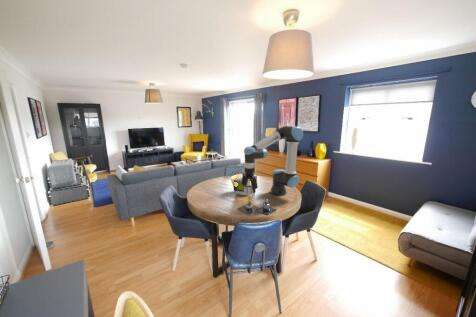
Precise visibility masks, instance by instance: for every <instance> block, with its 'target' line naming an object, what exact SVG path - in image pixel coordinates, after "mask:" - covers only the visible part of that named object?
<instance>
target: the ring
mask: <svg viewBox="0 0 476 317" xmlns="http://www.w3.org/2000/svg"><path fill="white" fill-rule="evenodd" d="M252 189H253V188H252V185H245V186H244V193H245V194H249V195H252Z"/></svg>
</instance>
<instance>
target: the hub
mask: <svg viewBox="0 0 476 317" xmlns="http://www.w3.org/2000/svg"><path fill="white" fill-rule="evenodd" d="M256 209H257V210H256ZM258 209H260V207H259V206H257V205H254V204H253V203H252V196H249V197H248V196H247V203H246V204H243V205H242V206H239V207H238V208H237V210H239V211H241V212H243V213H245V214H247V215H250V216H251V215H252V214H254V212H255V213H257V212H259V211H258Z"/></svg>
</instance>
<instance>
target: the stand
mask: <svg viewBox="0 0 476 317" xmlns="http://www.w3.org/2000/svg"><path fill="white" fill-rule="evenodd" d="M256 210H257V209H256ZM276 210H277V211H278V209H277V208H273V207H271V203H270V202H269V198H264V202H262V206H261V207H260V209H258V211H257V212H259V213H261V214H263V215H265V216H270V215H271V214H273V213H275V212H277V211H276Z"/></svg>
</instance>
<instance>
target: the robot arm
mask: <svg viewBox="0 0 476 317" xmlns="http://www.w3.org/2000/svg"><path fill="white" fill-rule="evenodd" d="M303 137H304V131H303V129H302V128H301V127H299V126H296V125H295V126H291V125H289V126H288V125H286V126H281V127H280V128H277V129H276V130H274V131H273V132H272V133H271V134H269V135H268V136H266V137H264V138H263V139H261V140H259V141H257V142H256V143H254V144H253V145H250V146H245V148H244V150H243V153H244V172H242V174H241V175H242V185H243V189H244V186H245V185H246V184H247V182H248V179H249V180H250V181H251V185H252V188H253V189H252V194H251V198H255V197H256V190H257V189H258V188H259V187H258V186H259V185H258V180H257V179H258V175H255V160H260V159H262V160H263V159H266V158H267V157H268V151H267V149H266V148H267V147H269V146H271V145H273V143H275V142H278V141H281V140H285V142H286V144H287V147H286V148H287V149H286V160H285V169H284V168H283V169H282V168H281V169H278V168H277V169H275V170H273V171H272V186H271V189H270V194H272V195H273V196H286V194H287V189H286V187H287V188H292V189H294V188H296V187H297V186H298V184H299V183H300V176H298V172H297V171H296V167H297V156H298V155H297V154H298V145H299V144H300V141H301V140H302V139H303ZM244 194H245V193H244Z"/></svg>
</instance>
